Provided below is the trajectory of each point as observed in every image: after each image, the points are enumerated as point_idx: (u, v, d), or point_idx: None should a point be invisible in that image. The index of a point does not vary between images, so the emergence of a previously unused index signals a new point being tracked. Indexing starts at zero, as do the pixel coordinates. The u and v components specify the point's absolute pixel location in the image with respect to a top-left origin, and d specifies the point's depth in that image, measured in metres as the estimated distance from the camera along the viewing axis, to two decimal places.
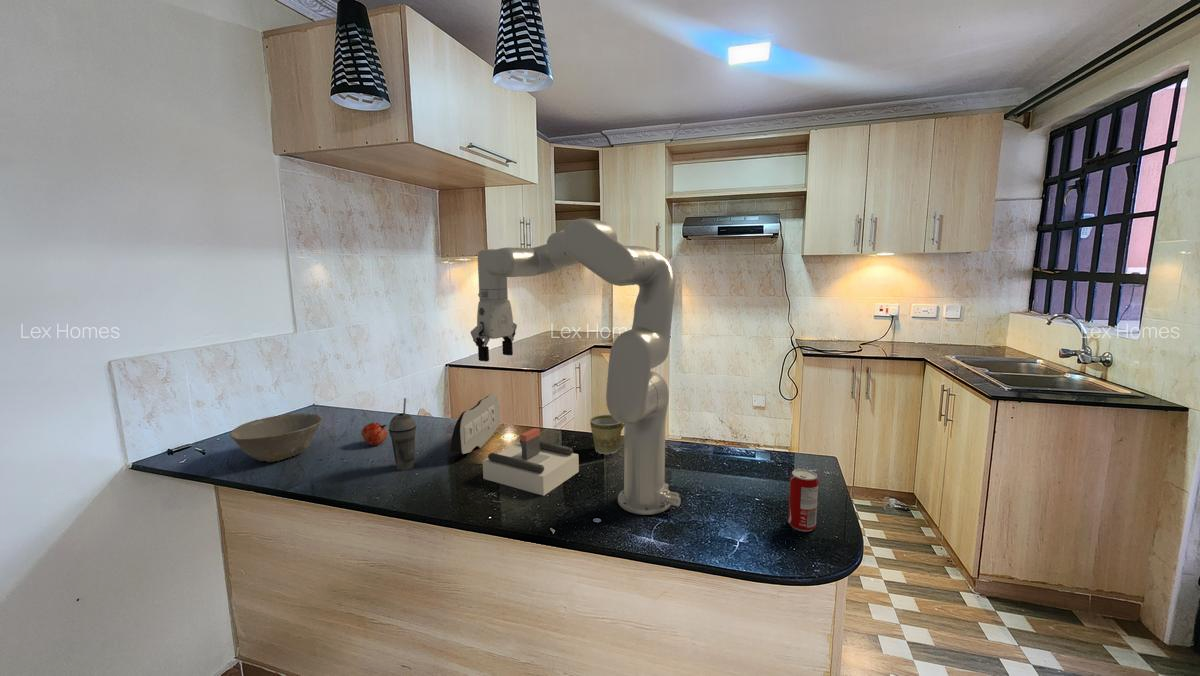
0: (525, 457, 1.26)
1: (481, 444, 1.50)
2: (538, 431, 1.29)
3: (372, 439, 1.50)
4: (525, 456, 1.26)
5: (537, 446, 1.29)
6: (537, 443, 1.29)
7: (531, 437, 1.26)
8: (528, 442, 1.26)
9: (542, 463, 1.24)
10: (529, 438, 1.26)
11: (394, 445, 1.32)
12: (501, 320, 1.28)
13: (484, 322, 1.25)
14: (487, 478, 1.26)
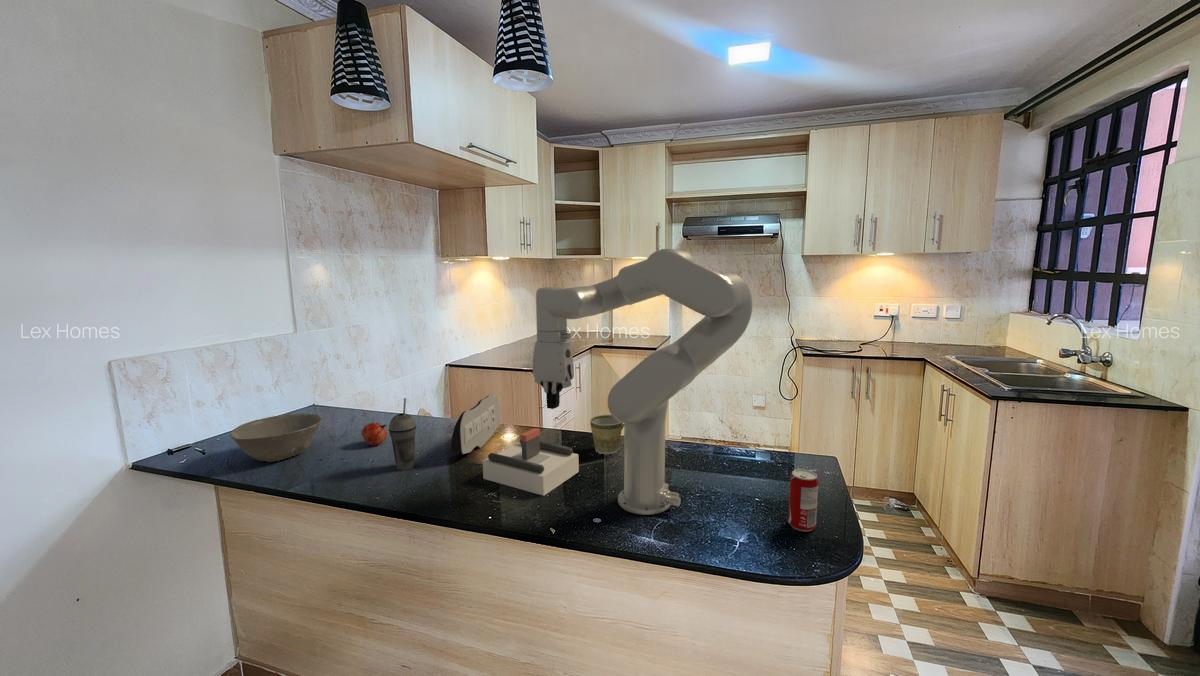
0: (525, 457, 1.26)
1: (481, 444, 1.50)
2: (538, 431, 1.29)
3: (372, 439, 1.50)
4: (525, 456, 1.26)
5: (537, 446, 1.29)
6: (537, 443, 1.29)
7: (531, 437, 1.26)
8: (528, 442, 1.26)
9: (542, 463, 1.24)
10: (529, 438, 1.26)
11: (394, 445, 1.32)
12: None
13: (571, 364, 1.19)
14: (487, 478, 1.26)
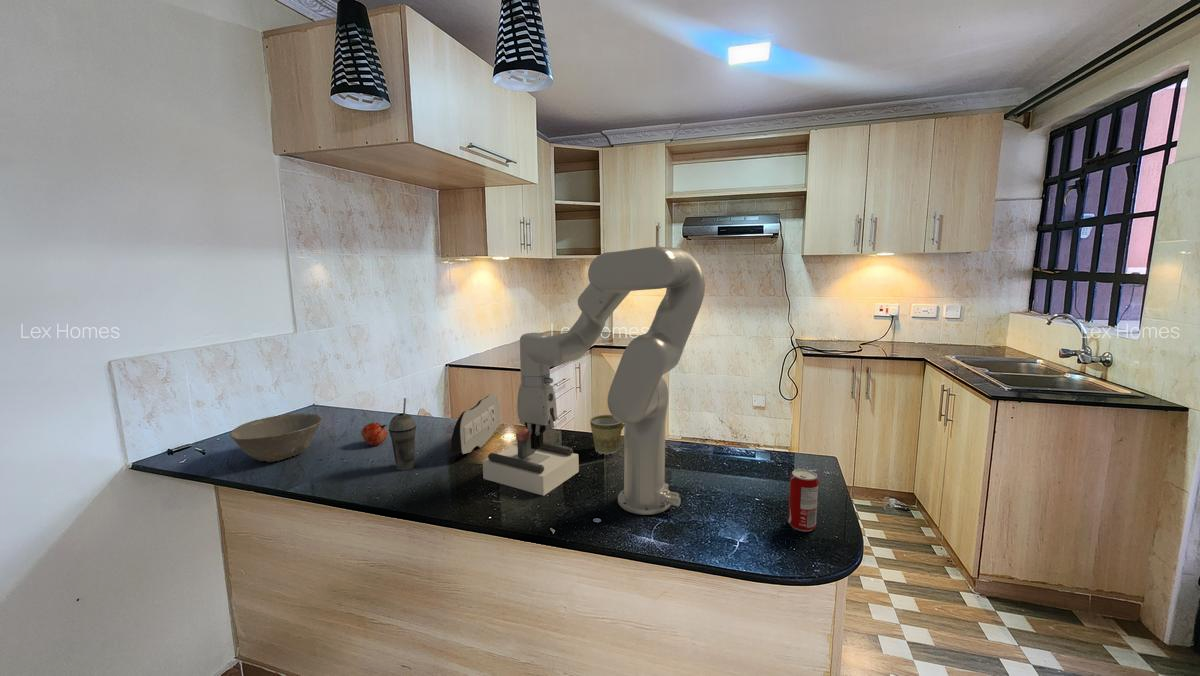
0: (521, 456, 1.26)
1: (481, 444, 1.50)
2: None
3: (372, 439, 1.50)
4: (521, 455, 1.26)
5: None
6: None
7: (527, 436, 1.27)
8: (524, 441, 1.26)
9: (542, 463, 1.24)
10: (525, 437, 1.26)
11: (394, 445, 1.32)
12: None
13: (553, 407, 1.23)
14: (487, 478, 1.26)
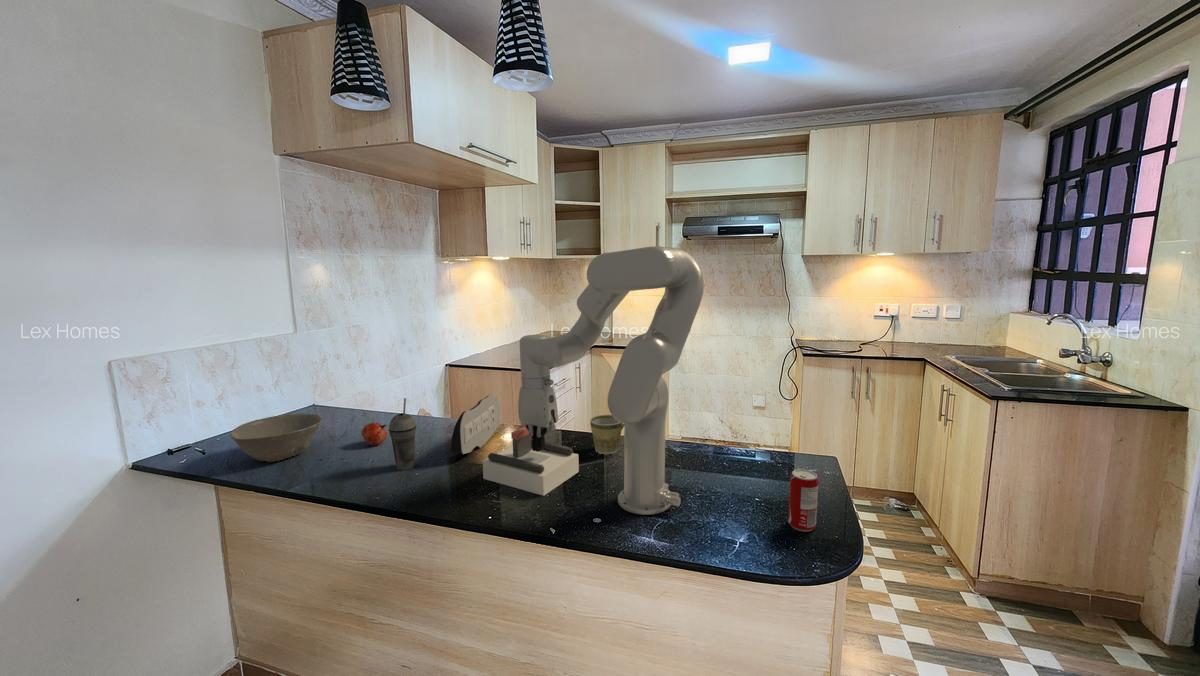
0: (516, 455, 1.27)
1: (481, 444, 1.50)
2: None
3: (372, 439, 1.50)
4: (516, 454, 1.27)
5: (528, 444, 1.31)
6: (528, 441, 1.31)
7: (522, 435, 1.28)
8: (519, 440, 1.27)
9: (542, 463, 1.24)
10: (520, 436, 1.27)
11: (394, 445, 1.32)
12: None
13: (554, 408, 1.23)
14: (487, 478, 1.26)
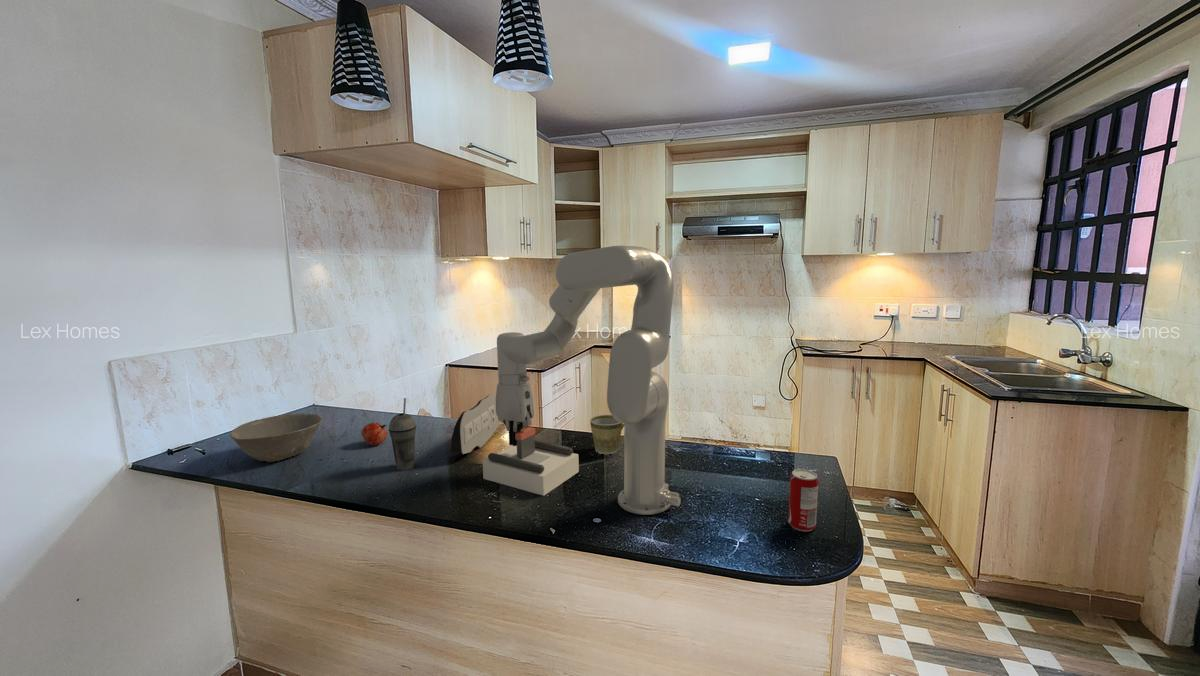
0: (520, 456, 1.26)
1: (481, 444, 1.50)
2: (533, 430, 1.30)
3: (372, 439, 1.50)
4: (520, 455, 1.26)
5: (532, 445, 1.30)
6: (532, 442, 1.30)
7: (526, 436, 1.27)
8: (523, 441, 1.26)
9: (542, 463, 1.24)
10: (525, 437, 1.27)
11: (394, 445, 1.32)
12: None
13: (530, 404, 1.27)
14: (487, 478, 1.26)
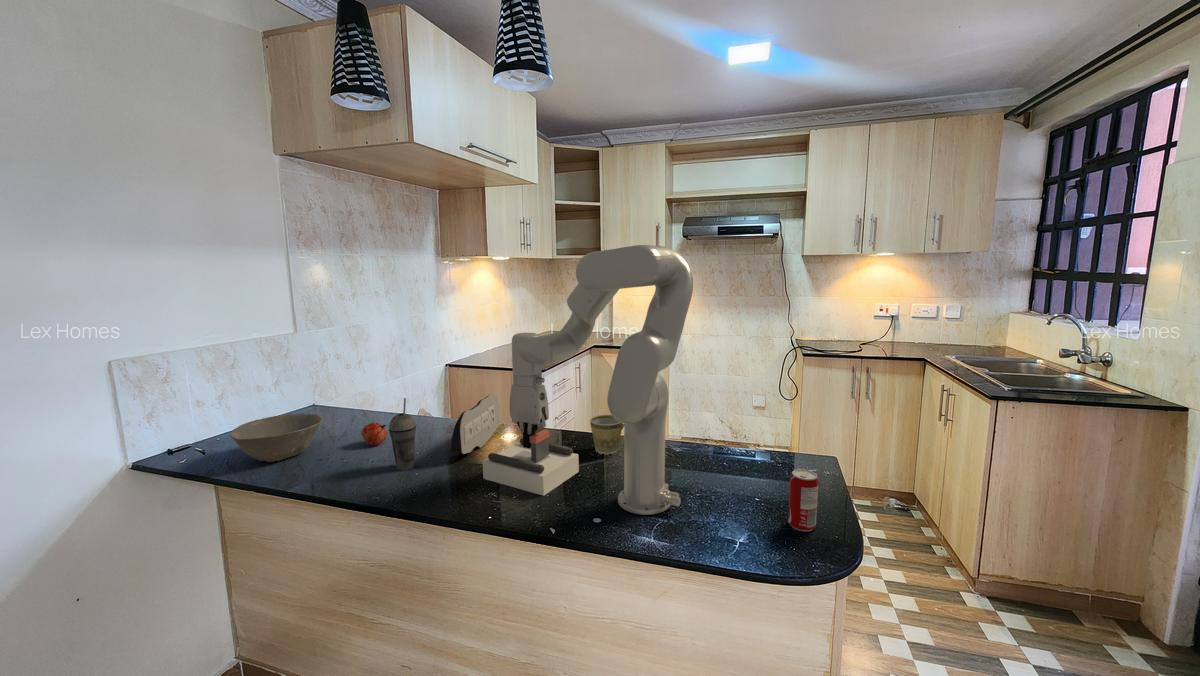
0: (535, 459, 1.24)
1: (481, 444, 1.50)
2: (547, 433, 1.27)
3: (372, 439, 1.50)
4: (535, 458, 1.24)
5: (547, 448, 1.28)
6: (546, 445, 1.28)
7: (541, 439, 1.25)
8: (538, 444, 1.24)
9: (542, 463, 1.24)
10: (539, 440, 1.24)
11: (394, 445, 1.32)
12: None
13: (545, 406, 1.25)
14: (487, 478, 1.26)
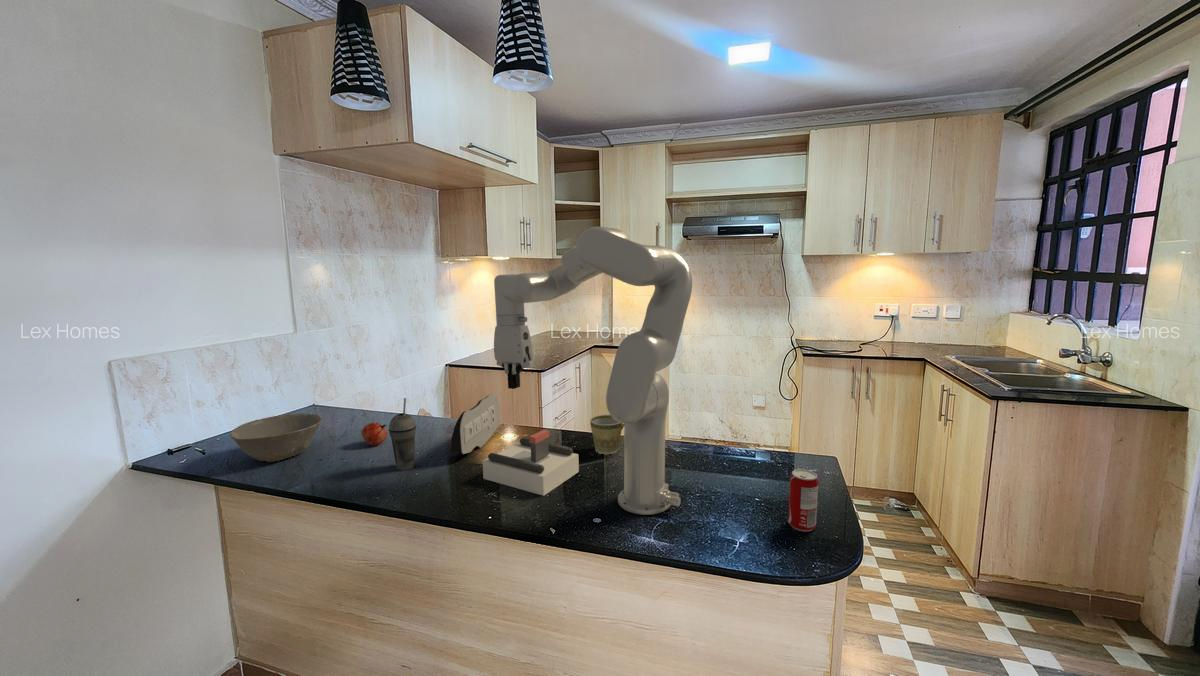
0: (535, 459, 1.24)
1: (481, 444, 1.50)
2: (547, 433, 1.27)
3: (372, 439, 1.50)
4: (534, 458, 1.24)
5: (546, 448, 1.28)
6: (546, 445, 1.28)
7: (540, 439, 1.25)
8: (537, 444, 1.24)
9: (542, 463, 1.24)
10: (539, 440, 1.24)
11: (394, 445, 1.32)
12: None
13: (529, 346, 1.27)
14: (487, 478, 1.26)
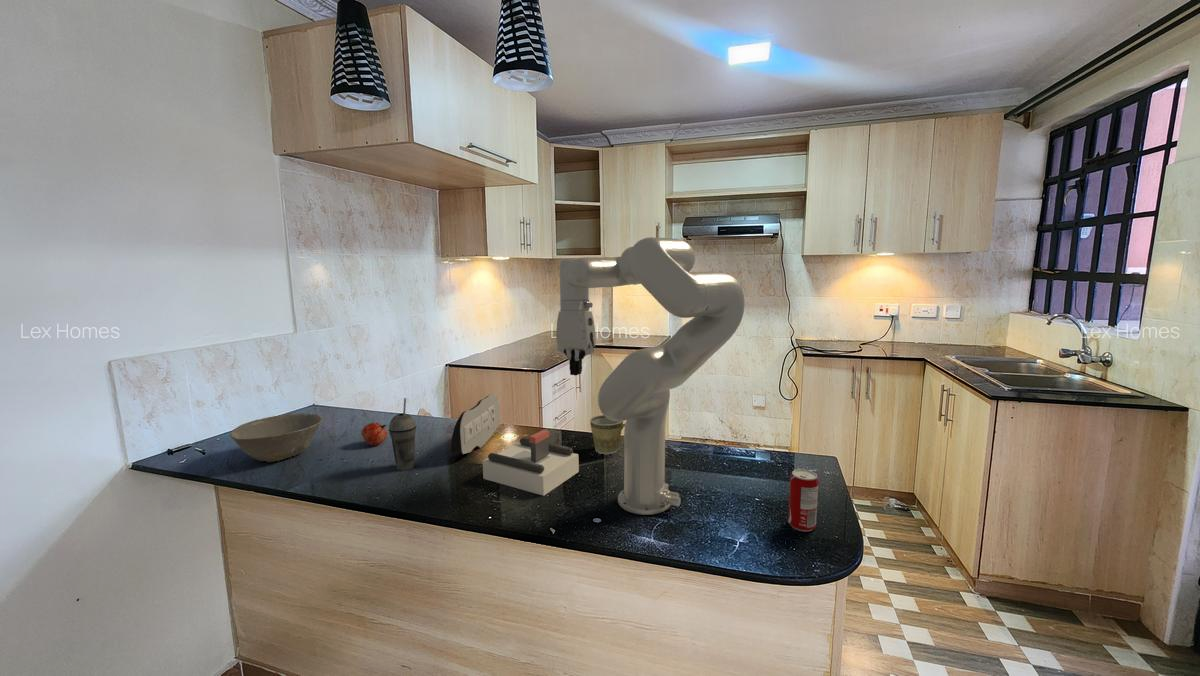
0: (535, 459, 1.24)
1: (481, 444, 1.50)
2: (547, 433, 1.27)
3: (372, 439, 1.50)
4: (534, 458, 1.24)
5: (546, 448, 1.28)
6: (546, 445, 1.28)
7: (540, 439, 1.25)
8: (537, 444, 1.24)
9: (542, 463, 1.24)
10: (539, 440, 1.24)
11: (394, 445, 1.32)
12: None
13: (593, 332, 1.25)
14: (487, 478, 1.26)
